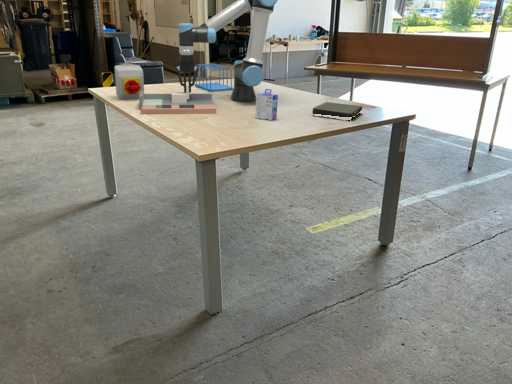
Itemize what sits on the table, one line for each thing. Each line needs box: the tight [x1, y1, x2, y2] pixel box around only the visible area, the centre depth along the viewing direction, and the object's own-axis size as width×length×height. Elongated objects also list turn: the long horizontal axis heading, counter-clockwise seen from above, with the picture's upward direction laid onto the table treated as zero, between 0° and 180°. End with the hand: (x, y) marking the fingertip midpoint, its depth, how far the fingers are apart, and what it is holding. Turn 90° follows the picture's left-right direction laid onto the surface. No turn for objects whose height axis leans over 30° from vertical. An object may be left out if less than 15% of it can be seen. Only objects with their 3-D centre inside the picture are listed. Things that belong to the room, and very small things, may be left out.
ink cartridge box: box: [255, 88, 279, 121], centre depth 215 cm, size 10×6×14 cm, turn 58°
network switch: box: [312, 101, 363, 117], centre depth 229 cm, size 23×24×5 cm
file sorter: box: [194, 63, 234, 93], centre depth 297 cm, size 25×17×15 cm
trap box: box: [138, 90, 217, 115], centre depth 233 cm, size 40×28×7 cm
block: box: [171, 91, 187, 103], centre depth 239 cm, size 8×8×4 cm
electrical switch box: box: [114, 63, 145, 101], centre depth 252 cm, size 15×15×20 cm
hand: (187, 98), depth 240 cm, fingers closed
